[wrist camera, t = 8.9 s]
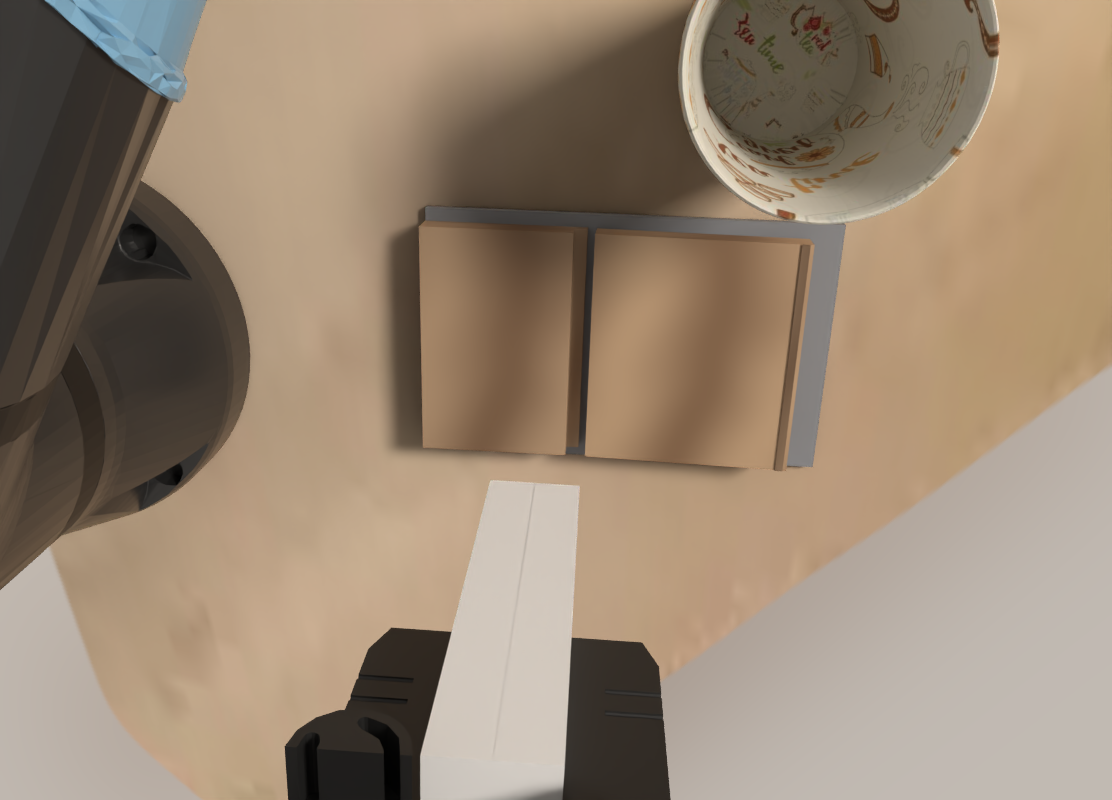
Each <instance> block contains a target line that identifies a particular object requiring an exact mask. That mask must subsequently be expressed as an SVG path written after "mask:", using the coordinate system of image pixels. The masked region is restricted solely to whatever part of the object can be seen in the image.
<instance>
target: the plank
mask: <svg viewBox="0 0 1112 800" xmlns="http://www.w3.org/2000/svg"><path fill="white" fill-rule="evenodd" d="M814 247H815V245H814V244H813V242H812V241H811V240H810V239H799V238H780V237H760V236H740V235H720V234H701V233H681V232H661V231H641V230H621V229H602V228H597V230H596V233H595V247H594V269H593V291H592V313H591V334H590V356H589V378H588V399H587V421H586V443H585V456H587V457H601V458H615V459H629V460H643V461H657V462H671V463H685V464H699V465H713V466H727V467H741V468H755V469H769V470H775V471H782V470H783V471H786V467H787V459H788V451H789V444H790V436H791V428H792V420H793V412H794V404H795V396H796V389H797V381H798V373H799V365H800V357H801V349H802V341H803V334H804V326H805V318H806V310H807V302H808V294H809V286H810V279H811V271H812V263H813V255H814Z"/></svg>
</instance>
